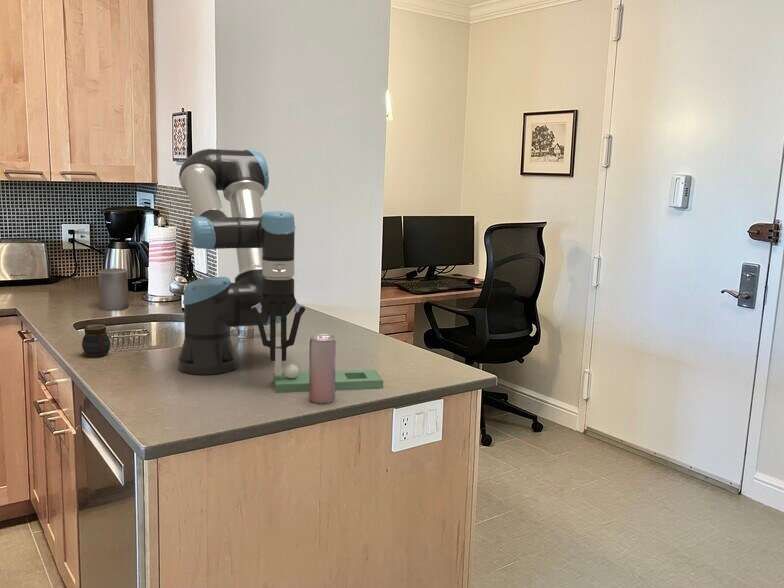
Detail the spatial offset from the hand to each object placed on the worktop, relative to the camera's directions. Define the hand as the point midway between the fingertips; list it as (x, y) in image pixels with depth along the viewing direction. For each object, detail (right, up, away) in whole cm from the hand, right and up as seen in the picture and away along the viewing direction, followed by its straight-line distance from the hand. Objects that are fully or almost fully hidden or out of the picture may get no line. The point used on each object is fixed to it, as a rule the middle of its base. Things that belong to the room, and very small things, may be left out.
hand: (278, 373), depth 169 cm
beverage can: (+11, -5, -7) cm, 15 cm away
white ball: (+3, 0, +1) cm, 3 cm away
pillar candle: (-72, +14, +82) cm, 110 cm away
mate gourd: (-54, +2, +23) cm, 58 cm away
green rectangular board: (+12, -3, +4) cm, 13 cm away
